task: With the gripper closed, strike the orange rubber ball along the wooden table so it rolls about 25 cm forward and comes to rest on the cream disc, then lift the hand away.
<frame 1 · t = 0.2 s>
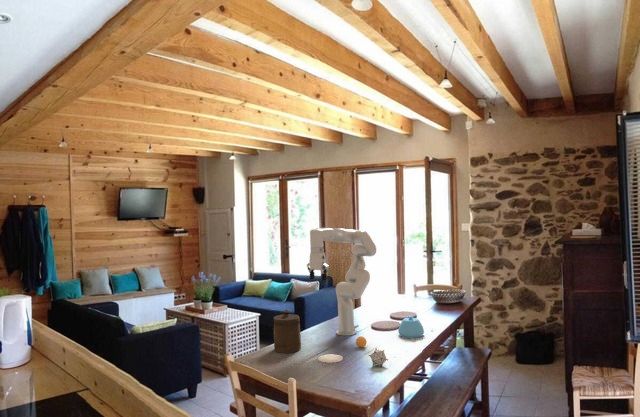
hand: (318, 279, 282), 36 cm above the table, tool pointing down, fingers open, 9 cm apart
cream disc: (330, 358, 251), on the table
game die: (378, 366, 238), on the table
ball: (361, 341, 269), on the table
sugar bowl: (411, 335, 289), on the table
wooden container: (287, 349, 270), on the table
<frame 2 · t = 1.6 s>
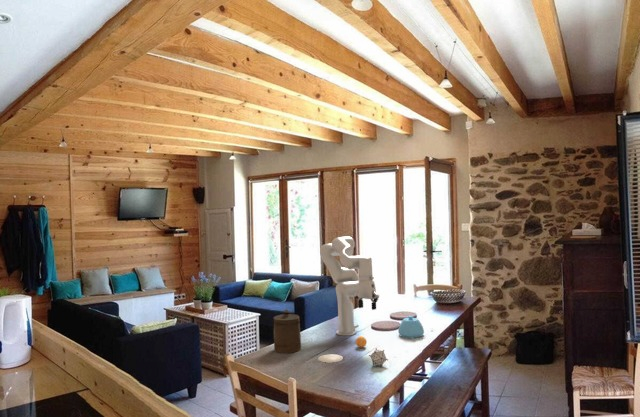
hand: (367, 308, 275), 20 cm above the table, tool pointing down, fingers open, 9 cm apart
nothing on the table moved.
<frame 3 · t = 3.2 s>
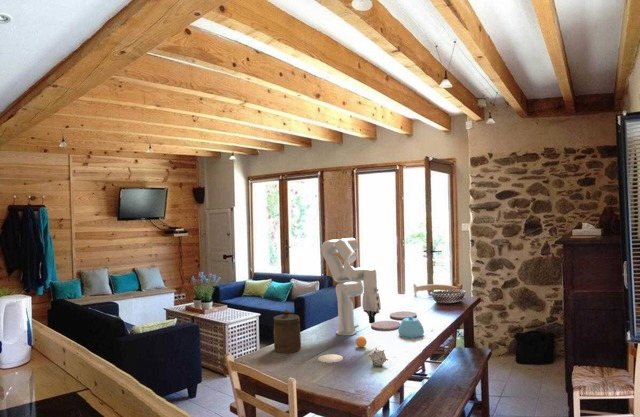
hand: (372, 322, 275), 12 cm above the table, tool pointing down, fingers closed
nothing on the table moved.
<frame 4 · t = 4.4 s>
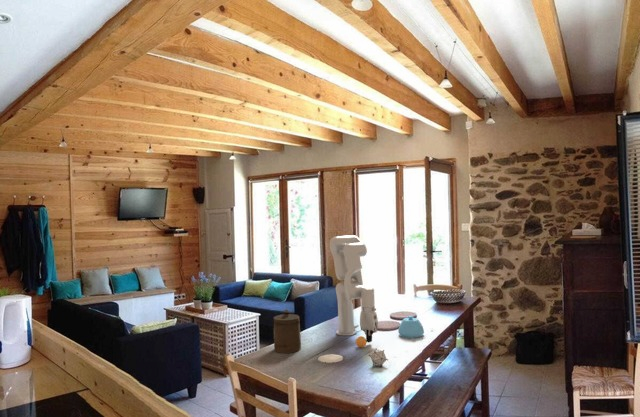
hand: (369, 341, 273), 2 cm above the table, tool pointing down, fingers closed
nothing on the table moved.
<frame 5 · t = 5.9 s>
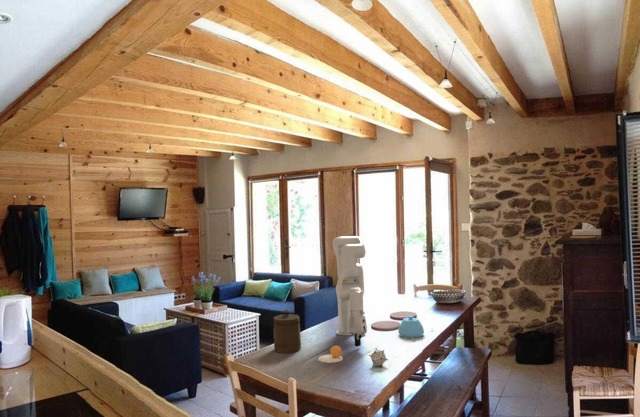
hand: (357, 345, 267), 2 cm above the table, tool pointing down, fingers closed
ball: (336, 351, 253), on the table
everything else where it was.
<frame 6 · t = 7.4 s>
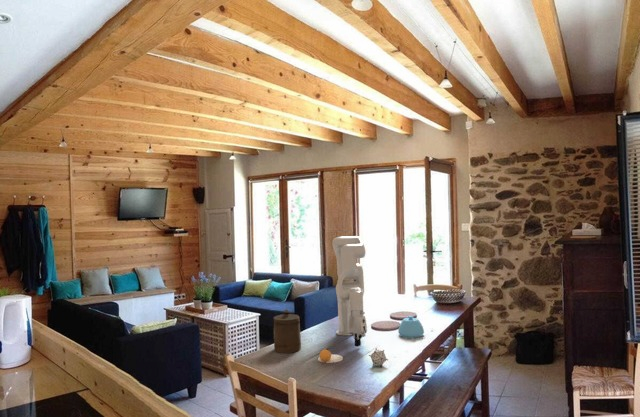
hand: (357, 345, 267), 2 cm above the table, tool pointing down, fingers closed
ball: (325, 355, 246), on the table
everything else where it was.
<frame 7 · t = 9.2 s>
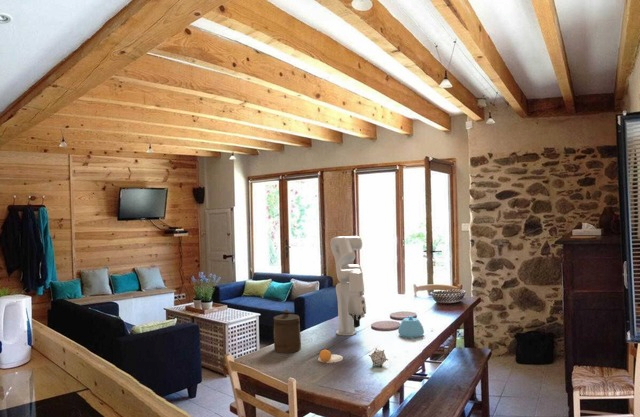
hand: (356, 326, 267), 12 cm above the table, tool pointing down, fingers closed
nothing on the table moved.
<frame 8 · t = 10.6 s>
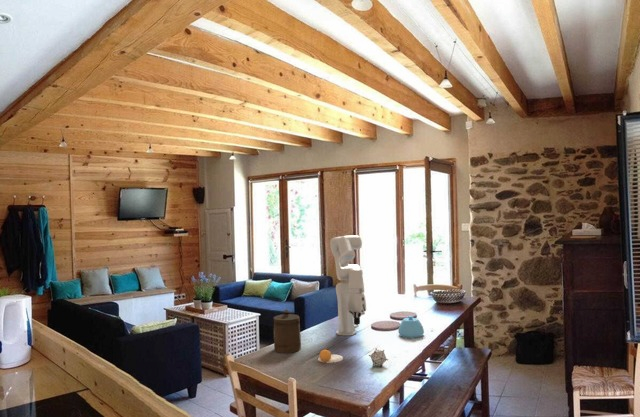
hand: (357, 324, 266), 14 cm above the table, tool pointing down, fingers closed
nothing on the table moved.
at the end: ball 5.1 cm from the cream disc (horizontally); ball at rest at the end (0.0 cm/s); ball moved 30.0 cm from its start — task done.
